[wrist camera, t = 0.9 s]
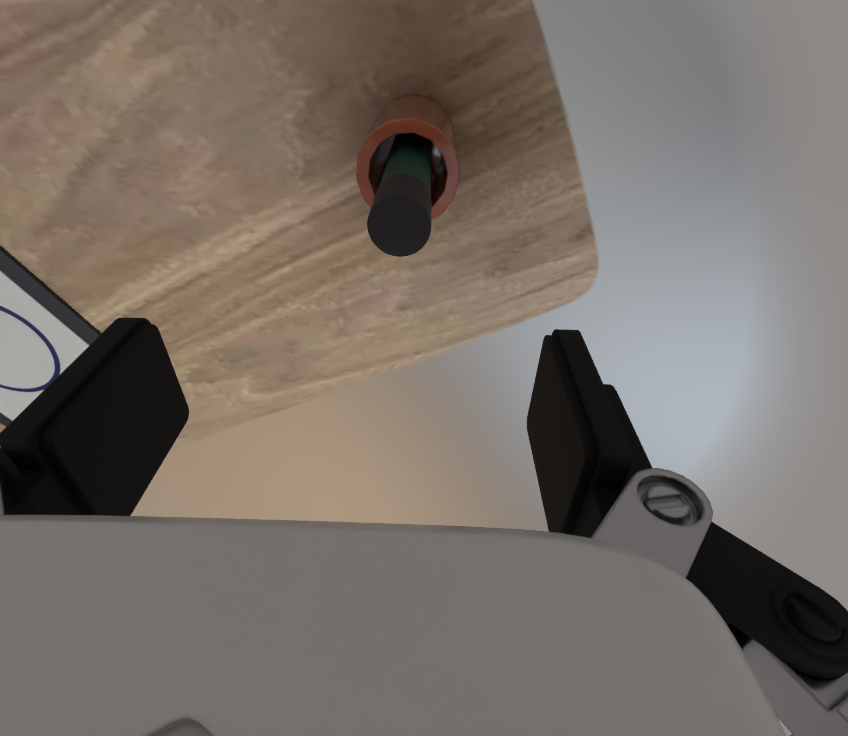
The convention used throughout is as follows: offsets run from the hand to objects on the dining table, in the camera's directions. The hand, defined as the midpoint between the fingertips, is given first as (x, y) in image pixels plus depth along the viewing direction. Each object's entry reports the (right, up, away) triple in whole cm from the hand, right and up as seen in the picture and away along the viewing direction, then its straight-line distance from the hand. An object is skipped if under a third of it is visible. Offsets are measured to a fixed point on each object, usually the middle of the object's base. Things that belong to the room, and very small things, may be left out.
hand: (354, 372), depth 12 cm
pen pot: (+1, +13, +16) cm, 21 cm away
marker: (+1, +13, +16) cm, 20 cm away
